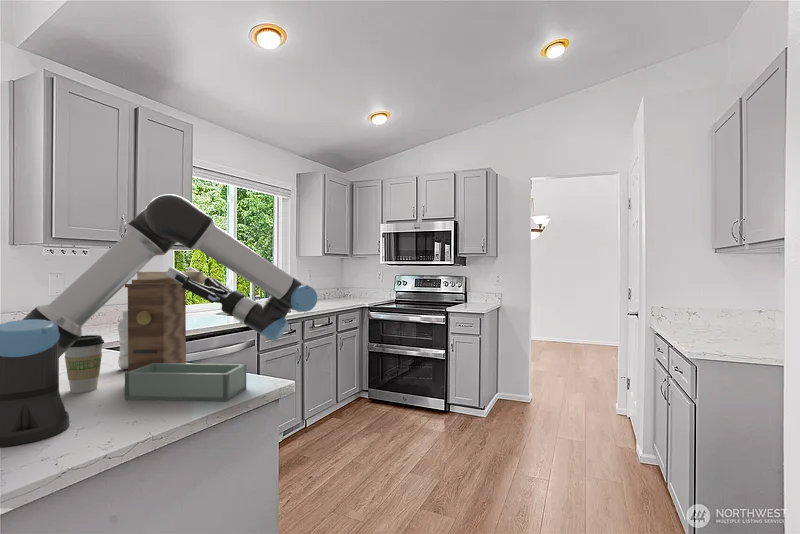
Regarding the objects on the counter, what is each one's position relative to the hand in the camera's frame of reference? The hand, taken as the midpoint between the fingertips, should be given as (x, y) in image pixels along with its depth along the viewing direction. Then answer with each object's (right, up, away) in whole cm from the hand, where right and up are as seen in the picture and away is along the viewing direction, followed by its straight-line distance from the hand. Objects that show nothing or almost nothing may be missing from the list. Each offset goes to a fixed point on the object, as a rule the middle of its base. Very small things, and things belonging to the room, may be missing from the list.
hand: (178, 270), depth 137 cm
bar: (-2, -4, 0) cm, 5 cm away
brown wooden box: (-7, -34, +1) cm, 35 cm away
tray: (+10, -34, -14) cm, 38 cm away
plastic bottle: (-24, -34, +15) cm, 44 cm away
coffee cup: (-22, -34, -10) cm, 42 cm away
